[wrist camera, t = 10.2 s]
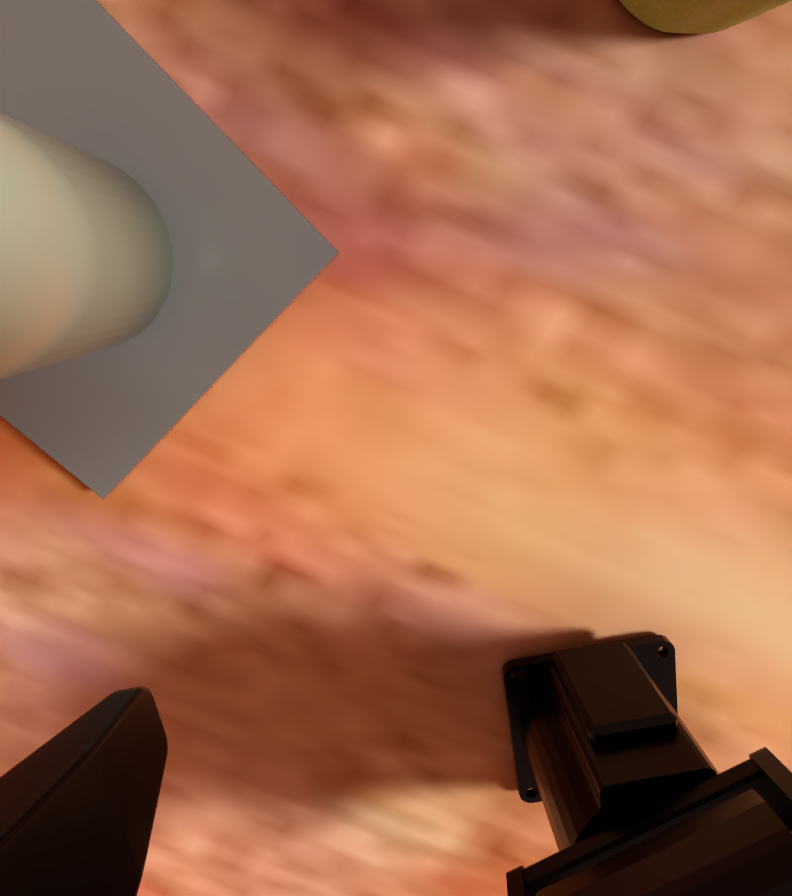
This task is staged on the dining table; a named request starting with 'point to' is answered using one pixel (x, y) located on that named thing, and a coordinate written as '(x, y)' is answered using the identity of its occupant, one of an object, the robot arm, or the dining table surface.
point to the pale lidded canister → (72, 252)
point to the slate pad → (188, 225)
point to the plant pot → (697, 13)
